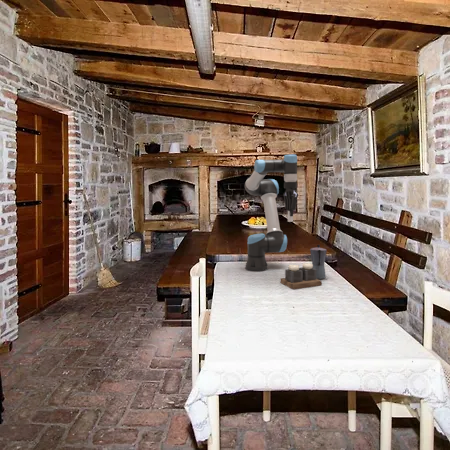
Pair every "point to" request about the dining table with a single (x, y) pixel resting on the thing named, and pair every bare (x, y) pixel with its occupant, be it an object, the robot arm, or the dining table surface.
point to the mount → (300, 278)
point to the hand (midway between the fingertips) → (290, 221)
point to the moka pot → (318, 261)
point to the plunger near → (293, 267)
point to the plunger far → (307, 266)
